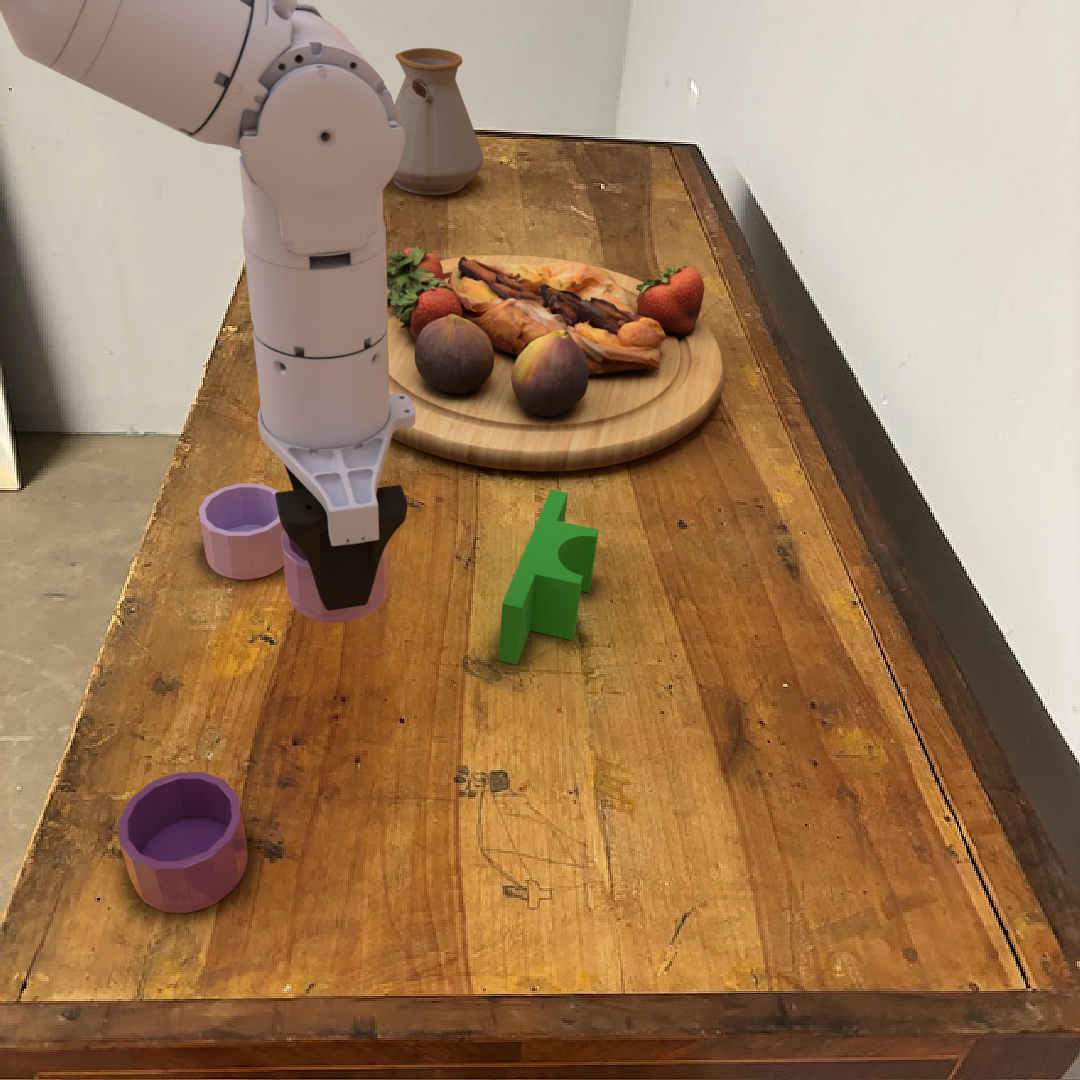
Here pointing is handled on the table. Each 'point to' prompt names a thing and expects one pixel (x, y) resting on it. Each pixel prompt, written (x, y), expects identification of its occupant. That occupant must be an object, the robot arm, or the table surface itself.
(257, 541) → the lavender dish
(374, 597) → the mauve dish
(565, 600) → the pipe clamp
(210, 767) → the table surface
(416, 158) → the coffee pot
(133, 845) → the plum dish
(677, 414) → the wooden plate
